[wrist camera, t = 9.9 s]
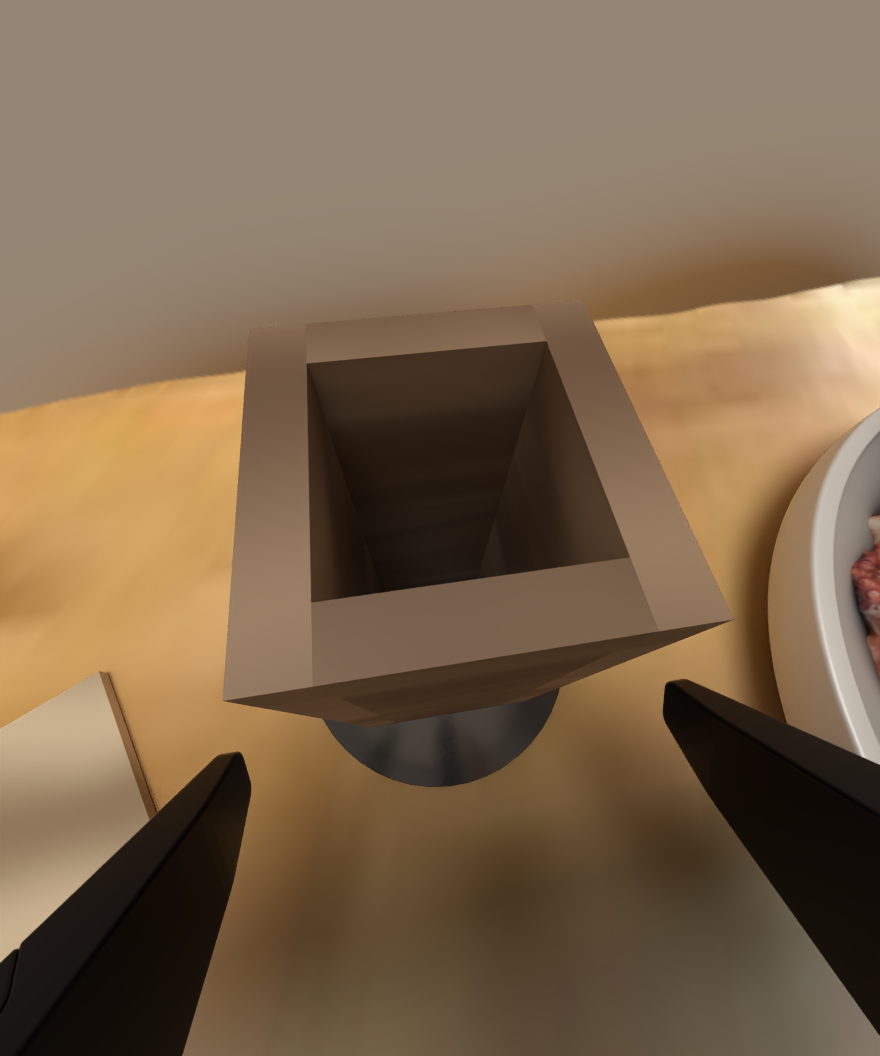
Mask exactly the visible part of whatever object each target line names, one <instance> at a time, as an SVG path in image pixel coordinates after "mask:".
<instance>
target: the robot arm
mask: <svg viewBox="0 0 880 1056" xmlns="http://www.w3.org/2000/svg"><path fill="white" fill-rule="evenodd" d="M663 717H664V720H665V723H666V725H667V726H668V728H669V730H670V732H671V733H672V735H673V737H674V738H675V740H676V742H677V743H678V745H679V747H680V749H681V750H682V752H683V754H684V755H685V757H686V759H687V760H688V762H689V764H690V766H691V767H692V769H693V771H694V772H695V774H696V776H697V777H698V779H699V781H700V782H701V784H702V786H703V787H704V789H705V790H706V792H707V794H708V795H709V797H710V798H711V800H712V801H713V802H714V804H715V805H716V807H717V808H718V810H719V811H720V812H721V814H722V815H723V817H724V818H725V819H726V821H727V822H728V824H729V825H730V826H731V828H732V829H733V831H734V832H735V833H736V835H737V836H738V838H739V839H740V840H741V842H742V843H743V845H744V846H745V847H746V849H747V850H748V852H749V853H750V854H751V856H752V857H753V859H754V860H755V861H756V863H757V864H758V866H759V867H760V868H761V870H762V871H763V873H764V874H765V876H766V877H767V878H768V880H769V881H770V883H771V884H772V885H773V887H774V888H775V890H776V891H777V892H778V894H779V895H780V897H781V898H782V899H783V901H784V902H785V904H786V905H787V906H788V908H789V909H790V911H791V912H792V913H793V915H794V916H795V918H796V919H797V920H798V922H799V923H800V925H801V926H802V927H803V929H804V930H805V932H806V933H807V934H808V936H809V937H810V939H811V940H812V941H813V943H814V944H815V946H816V947H817V948H818V950H819V951H820V953H821V954H822V955H823V957H824V958H825V960H826V961H827V962H828V964H829V965H830V967H831V968H832V969H833V971H834V972H835V974H836V975H837V976H838V978H839V979H840V981H841V982H842V983H843V985H844V986H845V988H846V989H847V990H848V992H849V993H850V995H851V996H852V997H853V999H854V1000H855V1002H856V1003H857V1005H858V1006H859V1007H860V1009H861V1010H862V1012H863V1013H864V1014H865V1016H866V1017H867V1019H868V1020H869V1021H870V1023H871V1024H872V1026H873V1027H874V1028H875V1030H876V1031H877V1033H878V1034H879V1035H880V765H879V764H877V763H875V762H873V761H870V760H868V759H866V758H864V757H861V756H859V755H857V754H855V753H852V752H850V751H848V750H846V749H843V748H841V747H839V746H837V745H834V744H832V743H830V742H827V741H825V740H823V739H821V738H818V737H816V736H814V735H812V734H809V733H807V732H805V731H803V730H800V729H798V728H796V727H794V726H791V725H789V724H787V723H785V722H782V721H780V720H778V719H776V718H773V717H771V716H769V715H767V714H764V713H762V712H760V711H757V710H755V709H753V708H751V707H748V706H746V705H744V704H742V703H739V702H737V701H735V700H733V699H730V698H728V697H726V696H724V695H721V694H719V693H717V692H715V691H712V690H710V689H708V688H706V687H703V686H701V685H699V684H697V683H694V682H692V681H690V680H687V679H680V680H673V681H669V682H667V683H666V685H665V690H664V703H663ZM250 797H251V781H250V778H249V774H248V771H247V768H246V764H245V761H244V758H243V755H242V754H241V753H240V752H231V753H225V754H220V755H218V756H217V757H215V758H214V759H213V760H212V761H211V762H210V763H209V764H208V765H207V766H206V767H205V768H204V769H203V770H202V771H201V772H200V773H199V774H197V775H196V776H195V777H194V778H193V779H192V780H191V781H190V782H189V783H188V784H187V785H186V786H185V787H184V788H183V789H182V790H181V791H180V792H179V793H178V794H177V795H175V796H174V797H173V798H172V799H171V800H170V801H169V802H168V803H167V804H166V805H165V806H164V807H163V808H162V809H161V810H160V811H159V812H158V813H157V814H156V815H155V816H153V817H152V818H151V819H150V820H149V821H148V822H147V823H146V824H145V825H144V826H143V827H142V828H141V829H140V830H139V831H138V832H137V833H136V834H135V835H134V836H133V837H131V838H130V839H129V840H128V841H127V842H126V843H125V844H124V845H123V846H122V847H121V848H120V849H119V850H118V851H117V852H116V853H115V854H114V855H113V856H112V857H111V858H109V859H108V860H107V861H106V862H105V863H104V864H103V865H102V866H101V867H100V868H99V869H98V870H97V871H96V872H95V873H94V874H93V875H92V876H91V877H90V878H89V879H87V880H86V881H85V882H84V883H83V884H82V885H81V886H80V887H79V888H78V889H77V890H76V891H75V892H74V893H73V894H72V895H71V896H70V897H69V898H68V899H67V900H65V901H64V902H63V903H62V904H61V905H60V906H59V907H58V908H57V909H56V910H55V911H54V912H53V913H52V914H51V915H50V916H49V917H48V918H47V919H46V920H45V921H43V922H42V923H41V924H40V925H39V926H38V927H37V928H36V929H35V930H34V931H33V932H32V933H31V934H30V935H29V936H28V937H27V938H26V939H25V940H24V941H22V943H21V944H20V947H19V949H14V950H13V951H12V952H11V953H10V954H9V955H8V956H7V957H6V958H4V959H3V960H2V961H1V962H0V1056H182V1055H183V1052H184V1048H185V1045H186V1041H187V1038H188V1035H189V1031H190V1028H191V1025H192V1021H193V1018H194V1014H195V1011H196V1008H197V1004H198V1001H199V998H200V994H201V991H202V987H203V984H204V981H205V977H206V974H207V971H208V967H209V964H210V960H211V957H212V954H213V950H214V947H215V944H216V940H217V937H218V933H219V930H220V927H221V923H222V920H223V917H224V913H225V910H226V907H227V903H228V900H229V896H230V892H231V889H232V885H233V881H234V877H235V872H236V867H237V862H238V857H239V852H240V847H241V842H242V837H243V832H244V827H245V822H246V817H247V812H248V807H249V802H250Z"/></svg>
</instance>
